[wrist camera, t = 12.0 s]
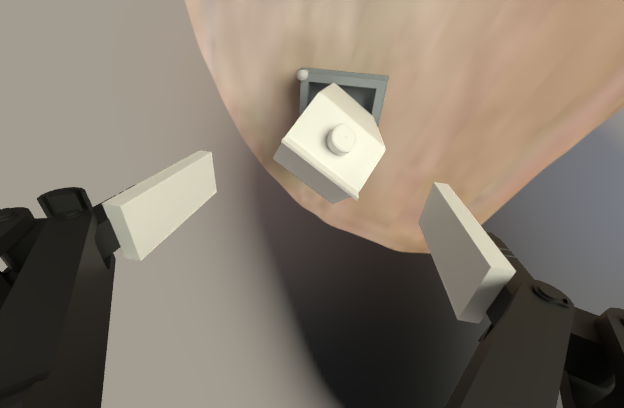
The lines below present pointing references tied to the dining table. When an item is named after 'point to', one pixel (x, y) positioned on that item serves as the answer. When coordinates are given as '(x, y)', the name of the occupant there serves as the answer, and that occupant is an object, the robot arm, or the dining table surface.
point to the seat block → (344, 88)
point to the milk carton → (332, 145)
